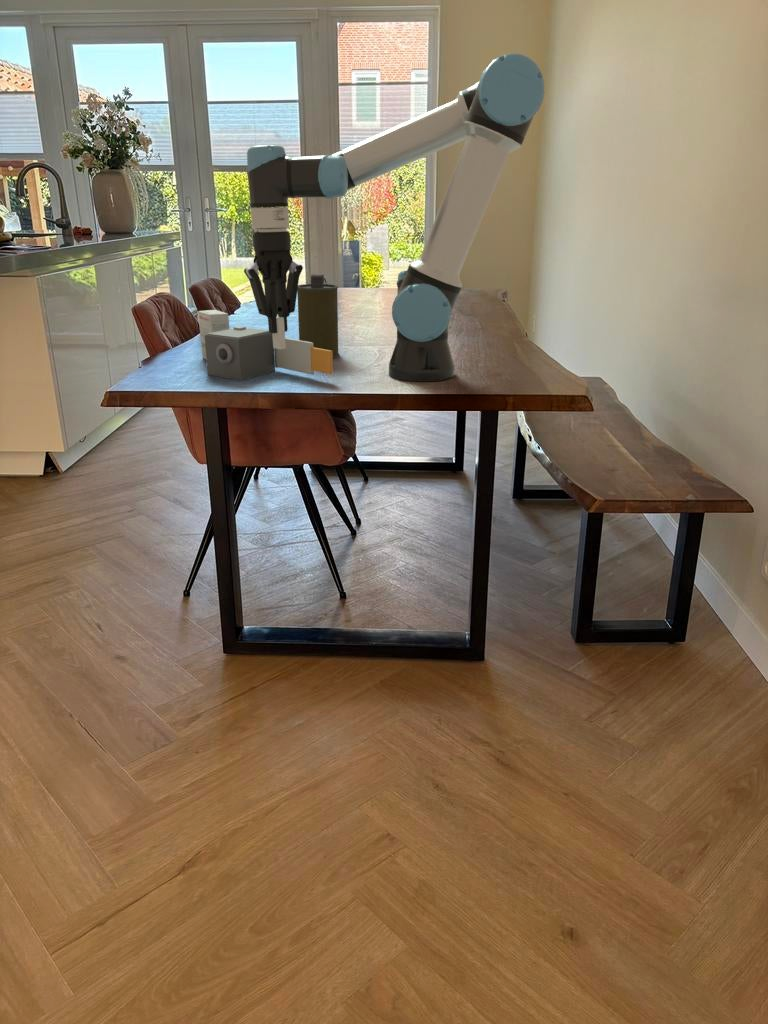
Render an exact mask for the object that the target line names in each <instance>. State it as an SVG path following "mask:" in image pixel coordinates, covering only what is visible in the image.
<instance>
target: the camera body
mask: <svg viewBox="0 0 768 1024" xmlns="http://www.w3.org/2000/svg"><path fill="white" fill-rule="evenodd" d="M205 347H206V359H207V360H206V369H207V370H206V371H207V375H208V376H214V377H221V378H226V379H230V380H231V379H232V380H239V381H243V380H246V379H250V378H253V377H258V376H262V375H263V374H264V375H265V374H268V373H272V372H275V371H276V367H275V352H274V348H273V337H272V333H270V332H269V329H268V330H267V329H260V328H253V327H252V328H251V327H246V326H240V325H238V326H234V327H233V328H229V329H228V330H223V331H218V332H213V333H207V335H205Z"/></svg>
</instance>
